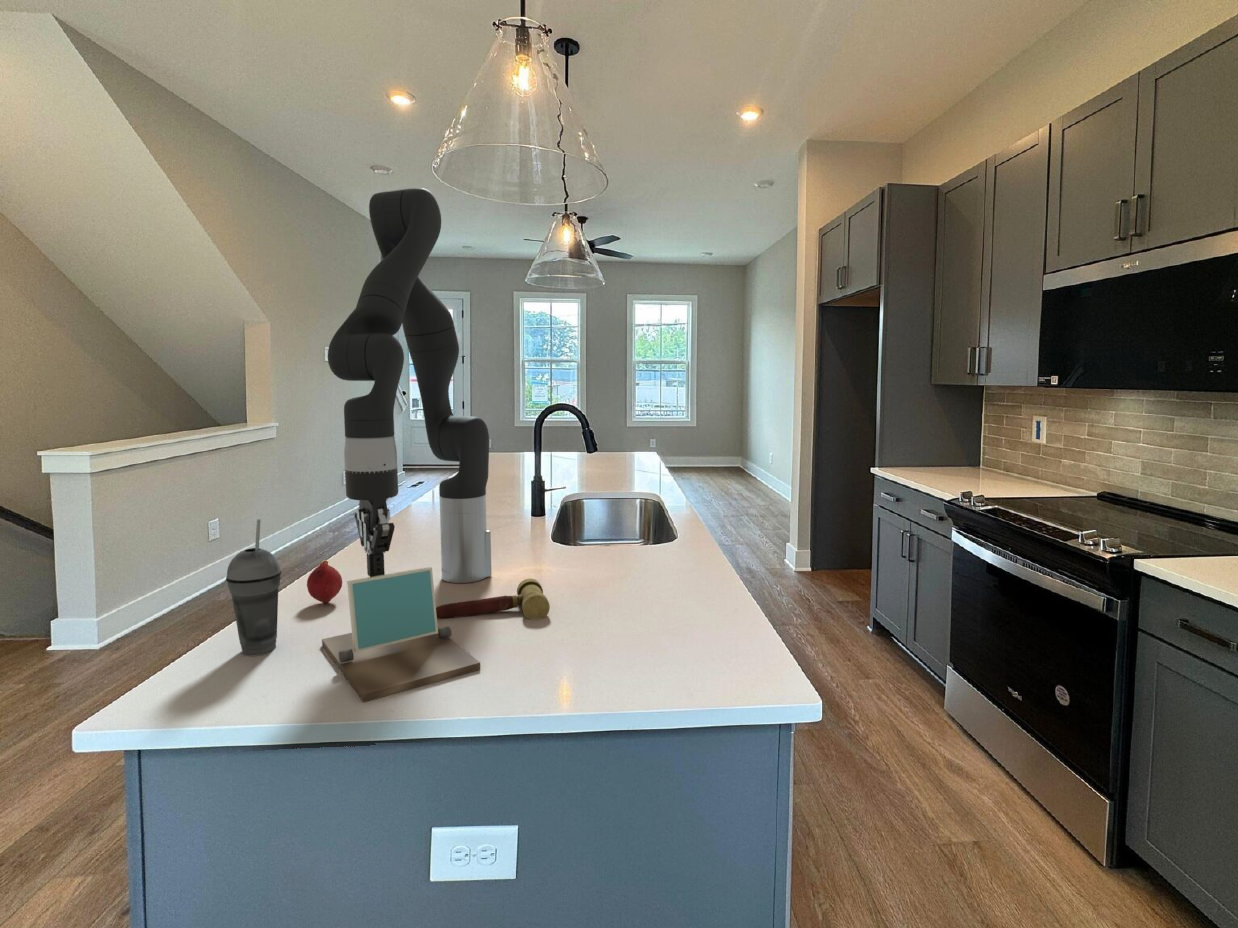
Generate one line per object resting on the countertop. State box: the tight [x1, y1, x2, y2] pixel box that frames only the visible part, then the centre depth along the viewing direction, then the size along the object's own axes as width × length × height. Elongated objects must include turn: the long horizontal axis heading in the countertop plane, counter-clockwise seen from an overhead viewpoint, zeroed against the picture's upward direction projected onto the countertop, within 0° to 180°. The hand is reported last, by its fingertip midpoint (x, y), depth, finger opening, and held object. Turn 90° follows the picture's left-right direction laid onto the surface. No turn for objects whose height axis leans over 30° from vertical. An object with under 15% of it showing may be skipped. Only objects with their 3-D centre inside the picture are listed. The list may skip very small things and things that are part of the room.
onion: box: [306, 559, 343, 604], centre depth 118 cm, size 6×6×8 cm
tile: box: [346, 566, 439, 652], centre depth 96 cm, size 12×10×1 cm
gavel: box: [436, 578, 550, 620], centre depth 114 cm, size 21×5×10 cm
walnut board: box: [321, 626, 481, 703], centre depth 96 cm, size 16×22×3 cm
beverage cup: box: [225, 518, 282, 657], centre depth 97 cm, size 7×7×20 cm
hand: (376, 576), depth 102 cm, fingers closed
